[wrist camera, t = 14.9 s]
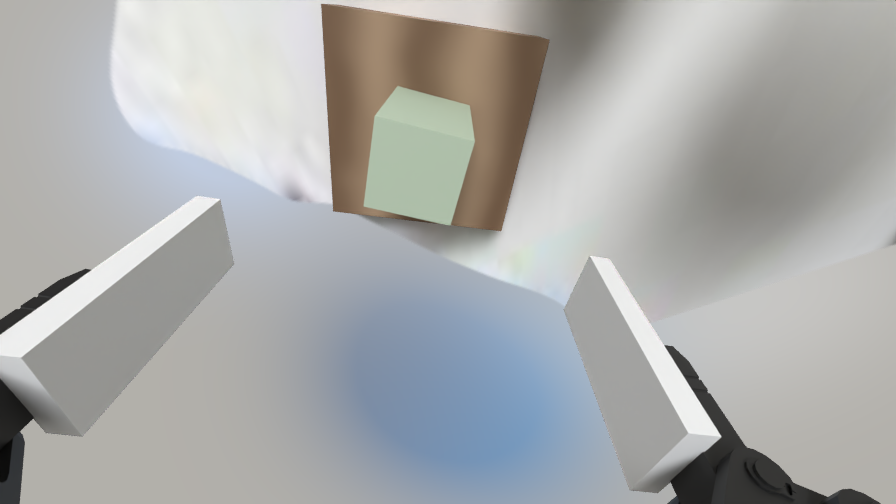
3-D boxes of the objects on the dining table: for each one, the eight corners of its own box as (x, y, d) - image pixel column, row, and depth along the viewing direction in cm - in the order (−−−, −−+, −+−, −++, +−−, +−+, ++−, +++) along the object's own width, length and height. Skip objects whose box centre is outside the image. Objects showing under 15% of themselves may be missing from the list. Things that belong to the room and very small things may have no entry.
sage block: (469, 105, 24) (474, 141, 18) (451, 172, 27) (450, 225, 20) (397, 86, 24) (374, 115, 17) (386, 156, 26) (363, 206, 20)
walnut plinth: (536, 36, 25) (549, 39, 22) (496, 209, 33) (501, 231, 30) (338, 4, 24) (321, 3, 21) (345, 190, 32) (333, 211, 29)
